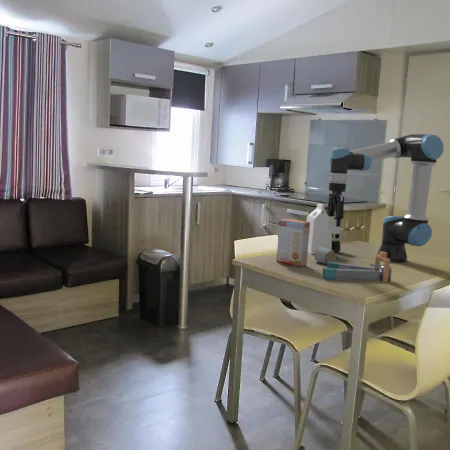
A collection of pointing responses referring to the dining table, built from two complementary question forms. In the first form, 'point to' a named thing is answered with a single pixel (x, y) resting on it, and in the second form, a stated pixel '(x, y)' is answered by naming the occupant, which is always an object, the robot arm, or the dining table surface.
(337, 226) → the robot arm
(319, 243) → the milk
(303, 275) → the dining table surface
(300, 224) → the cracker box
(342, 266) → the block
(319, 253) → the ceramic mug
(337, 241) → the character mug
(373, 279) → the ball-hinged grey bar
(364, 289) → the dining table surface
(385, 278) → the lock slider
